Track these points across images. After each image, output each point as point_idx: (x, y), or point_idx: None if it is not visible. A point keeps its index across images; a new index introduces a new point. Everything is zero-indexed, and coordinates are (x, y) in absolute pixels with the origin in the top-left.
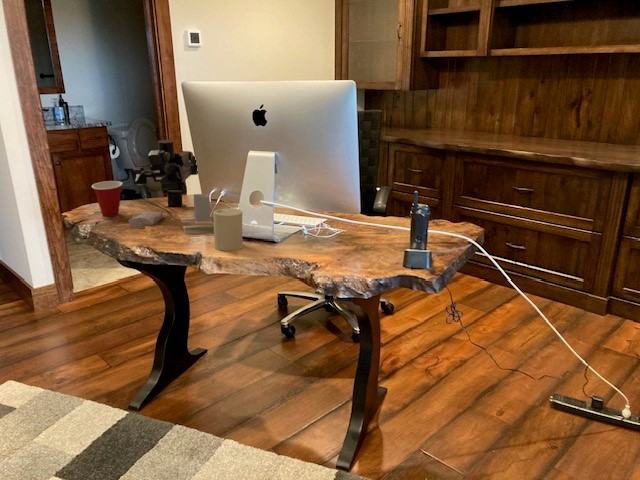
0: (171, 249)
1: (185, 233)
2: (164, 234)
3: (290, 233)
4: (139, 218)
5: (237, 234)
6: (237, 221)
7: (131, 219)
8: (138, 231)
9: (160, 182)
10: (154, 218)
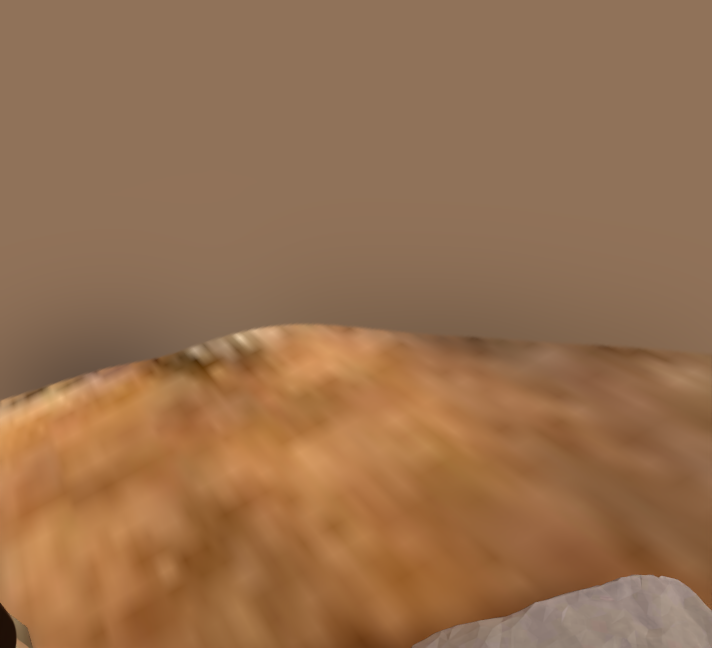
0: (72, 412)
1: None
2: (206, 599)
3: None
4: (537, 607)
5: None
6: None
7: (634, 576)
8: (458, 545)
9: (8, 621)
10: None
